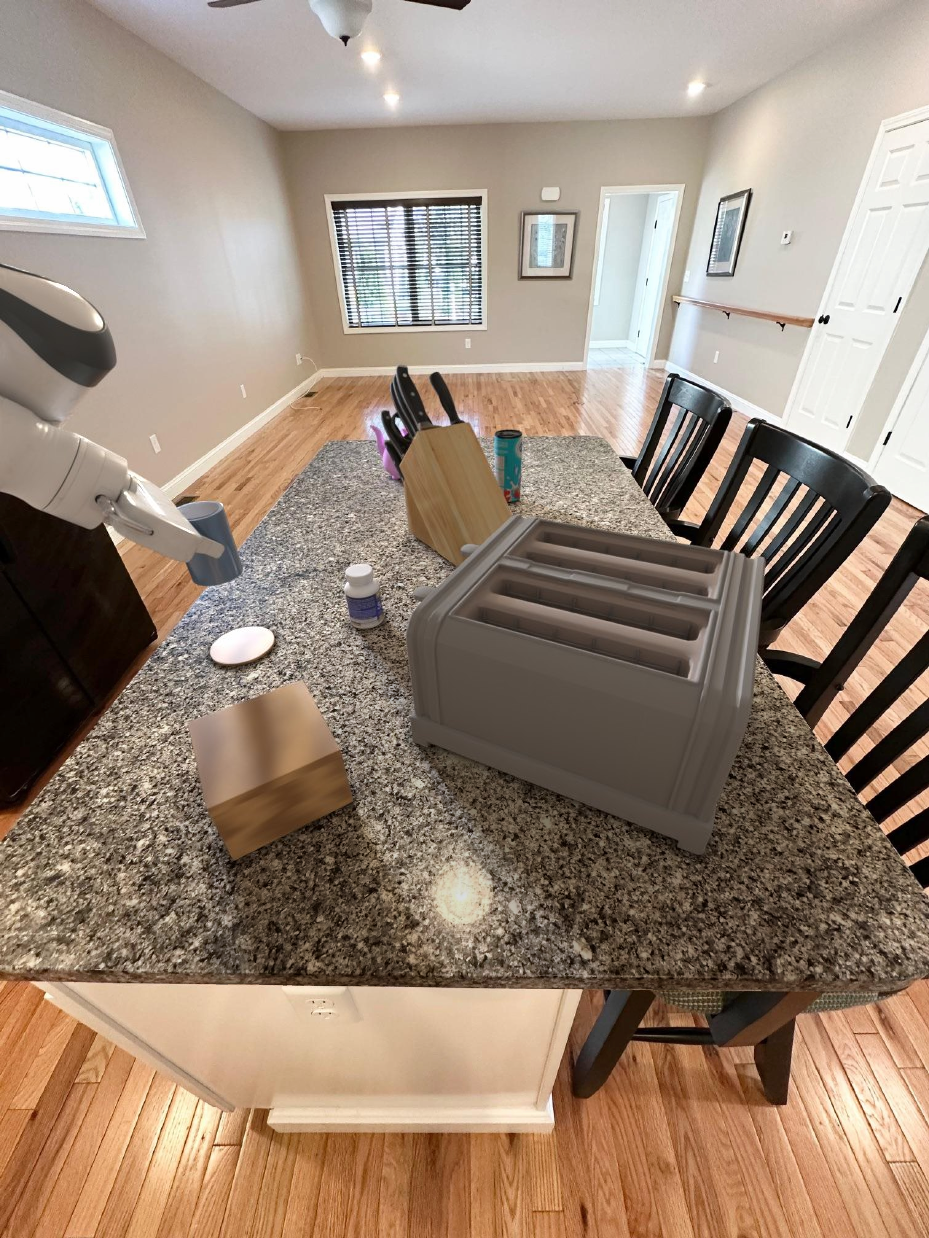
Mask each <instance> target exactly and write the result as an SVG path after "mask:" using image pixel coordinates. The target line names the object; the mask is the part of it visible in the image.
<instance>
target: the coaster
mask: <svg viewBox="0 0 929 1238" xmlns="http://www.w3.org/2000/svg"><path fill="white" fill-rule="evenodd" d="M275 638H276V637H275V634H274V633H273V632H272V631H271V630H270V629H268V628H266V627H262V626H257V625H255V626H254V625H253V626H252V625H251V626H244V627H240V628H239V627H238V628H236V629H233V630H231V631H228V632H227V633H224V634H223V635H221V636H219V638H217V639H216V640H215V641H214V642H213V643H212V645H211V647H210V650H209V655H210V658H211V660H212V661H213V662H214V663H216V664H218V665H220V666H223V667H224V666H225V667H226V666H227V667H237V666H243V665H247V664H250V663H253V662H255V661H257V660H259V659H261V658H263V657H264V656H266V655H267V654H268V653H269V652H270V651H271V650H272V648H273V647H274V646H275V643H276V639H275Z"/></svg>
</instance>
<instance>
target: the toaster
mask: <svg viewBox="0 0 929 1238" xmlns="http://www.w3.org/2000/svg"><path fill="white" fill-rule="evenodd" d="M512 515H513V516H512V517H510V518H509V519H508V520H507V521H506V522H505V523H504V524H503V525H502V526H501V527H500V528H499V529H498V530H497V531H496V532H495V533H494V534H493V535H491V536H490V537H489V538H488V539H487V540H486V541H485V542H484V543H483V544H482V545H481V546H479V545H474V544H467V545H464V546H463V547H462V548H461V554H462V555H463V556H466V557H468V558H467V559H466V560H465V561H464V562H463V563H462V564H461V565H460V566H459V567H456V568H455V569H454V570H453V571H452V572H451V573H450V574H449V575H448V576H447V577H446V578H445V579H444V580H442V582H440V584H438V586H436V587H433V586H429V585H421V586H418V587H416V588H415V589H414V590H413V591H412V592H413V593H412V594H413V595H412V597H413V599H414V600H415V601H417V602H420V603H418V604H417V605H416V607H415V608H414V610H413V611H412V612H411V614H410V616H409V619H408V622H407V626H406V629H405V645H406V652H407V660H408V662H407V663H408V668H409V670H408V671H409V678H410V684H411V685H410V686H411V693H412V701H413V707H414V708H413V712H411V714H410V717H409V720H410V721H409V722H410V728H411V736H412V737H411V738H412V741H413V743H415V744H417V745H420V746H423V747H425V748H429V746H430V745H433V746H436V747H439V748H442V749H445V750H447V751H449V752H452V753H454V754H458V755H460V756H462V757H464V758H467V759H471V760H473V761H475V762H477V763H480V764H483V765H485V766H487V767H490V768H493V769H496V770H498V771H500V772H503V773H506V774H507V775H512V776H514V777H516V778H518V779H520V780H523V781H526V782H528V783H531V784H534V785H536V786H538V787H540V788H544V789H545V790H548V791H552V792H554V793H556V794H558V795H562V796H564V797H567V798H569V799H572V800H574V801H577V802H579V803H582V804H584V805H587V806H590V807H591V808H595V809H598V810H600V811H602V812H605V813H607V814H610V815H613V816H615V817H617V818H620V819H623V820H625V821H628V822H631V823H632V824H636V825H638V826H641V827H643V828H646V829H648V830H651V831H653V832H655V833H658V834H661V835H663V836H666V837H668V838H671V839H673V840H676V841H677V848H678V849H681V850H684V851H686V852H689V853H692V854H694V855H697V856H702V855H703V853H704V852H705V850H706V847H707V845H708V843H709V840H710V838H711V835H712V833H713V831H714V825H715V819H716V811H717V806H718V805H717V804H718V802H719V799H720V797H721V794H722V792H723V789H724V787H725V784H726V783H727V780H728V777H729V774H730V772H731V770H732V768H733V765H734V762H735V760H736V757H737V755H738V753H739V751H740V748H741V745H742V743H743V740H744V737H745V734H746V730H747V727H748V724H749V720H750V715H751V712H752V707H753V702H754V701H753V700H754V691H755V681H756V670H757V659H758V649H759V639H760V638H759V637H760V630H761V629H760V628H761V616H762V605H763V595H764V586H765V585H764V584H765V575H766V574H765V573H766V563H767V560H766V559H765V557H764V556H760V555H759V556H756V557H754V558H750V557H747V556H746V555H745V553H741V552H736V551H735V550H732V551H729V550H723V549H716V548H711V547H705V546H699V545H694V544H688V543H681V542H677V541H670V540H664V539H659V538H653V537H648V536H642V535H636V534H631V533H625V532H619V531H613V530H608V529H602V528H596V527H591V526H585V525H579V524H573V523H567V522H561V521H555V520H550V519H544V518H541V517H539V516H536V517H534V516H528V517H526V518H524V517H523V516H522V515H521V514H512Z"/></svg>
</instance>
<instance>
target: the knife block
mask: <svg viewBox="0 0 929 1238" xmlns="http://www.w3.org/2000/svg"><path fill="white" fill-rule="evenodd" d="M428 380H429V383H430V385H431V387H432V388H433V390H434V391H435V393H436V395H437V397H438V399H439V403H440V405H441V408H443V410H444V412H445V414H446V415H447V417H448V419H449V423H450V425H445V426H442V425H439V424H433V422H432V420H431V418H430V417H429V415H428V413H427V411H426V409H425V404H424V403H423V400H422V397H421V395H420V392H419V391H418V389H417V386H416V385H415V383H414V381H413V379H412V378H411V376H410V373H409V367H408V365H405V364H397V366H396V368H395V374H394V375H393V377H392V380H391V381H390V383H389V391H390V397H391V401H392V403H393V407H394V409H395V411H396V412H394V413H393V414H392V416H391V413H390V410H387V409H382V410H381V411H380V418H381V419H380V420H381V423H382V424H381V425H382V427H383V429H384V431H385V434H386V435H387V437H388V439H387V440H384V441H385V442H384V445H385V448H386V449H387V451H388V453H389V455H390V457H391V459H392V461H393V464H394V466H395V468H396V470H397V472H398V474H399V476H400V477H401V478H400V480H401V481H402V483H403V492H404V493H403V494H404V502H405V510H406V511H405V512H406V519H407V530H408V532H409V533H410V534H411V535H412V536H414V537H415V538H417V539H418V540H420V541H421V542H422V543H424V544H426V546H428V547H430V548H431V549H433V550H434V551H436V552H437V553H438V554H439V555H440V556H442V557H443V558H445V559H446V560H447V561H449V562H450V563H451V564H453V565H454V566H456V568H458V567H459V566H460V565H461V564H462V563H463V562H464V561H465V560H466V559H467V558H468V557H466V556H463V555H462V554H461V548H462V547H463V546H464V545H467V544H474V545H479V546H481V545H482V544H483V543H484V542H485V541H486V540H487V539H488V538H489V537H490V536H491V535H493V534H494V533H495V532H496V531H497V530H498V529H499V528H500V527H501V526H502V525H503V524H504V523H505V522H506V521H507V520H508V519H509V518H510V517H512V516H513V515H514V514H513V513H512V510H511V508H510V506H509V504H507V502H506V499H505V497H504V495H503V493H502V491H501V488H500V486H499V484H498V482H497V480H496V478H495V472H494V471H493V469H492V467H491V465H490V462H489V460H488V458H487V456H486V454H485V452H484V449H483V447H482V445H481V443H480V440H479V439H478V436H477V435H476V432H475V431H474V429H473V426H472V424H471V423H470V422H469V421H465V420H464V419H461V418H460V417H459V415H458V411H457V407H456V404H455V402H454V399H453V396H452V394H451V392H450V390H449V388H448V385H447V383H446V381H445V380H444V377H443V376H442V375H441V373H440V371H434V372H432V373H430V375H429V376H428ZM396 419H399V420H400V422H401V423H402V425H403V427H405V428H406V430H407V432H408V433H407V434H406V435H405V436H404V437H403V435H402V433H401V432H400V431H401V430H400V428H399V426H398V425H397V423H396ZM389 439H390V440H389Z"/></svg>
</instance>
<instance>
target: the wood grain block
mask: <svg viewBox="0 0 929 1238" xmlns="http://www.w3.org/2000/svg"><path fill="white" fill-rule="evenodd" d="M186 723H187V729H188V733H189V736H190V741H191V746H192V750H193V756H194V760H195V765H196V768H197V773H198V777H199V781H200V786H201V790H202V796H203V800H204V804H205V809H206V811H207V814H208V815H209V818H210V820H211V821H212V823H213V824H214V826H215V829H216V830H217V831H218V834H219V836H220V838H221V840H222V842H223V843H224V846H225V847H226V849H227V851H228V853H229V855H230V857H231V859H232V861H236V860H239V859H240V858H242V857H244V856H247V855H248V854H251V853H253V852H254V851H256V850H259V849H261V848H262V847H264V846H266V845H268V844H270V843H273V842H274V841H277V840H279V839H280V838H282V837H285V836H287V835H289V834H290V833H292V832H295V831H297V830H299V829H301V828H303V827H305V826H307V825H309V824H311V823H313V822H315V821H317V820H318V819H319V820H320V819H322V818H323V817H324V816H327V815H329V814H331V813H333V812H335V811H337V810H339V809H341V808H343V807H345V806H347V805H349V804H351V803H353V802H354V797H353V793H352V790H351V786H350V781H349V778H348V774H347V769H346V766H345V762H344V761H345V760H344V758H343V754H342V750H341V748H340V746H339V744H338V742H337V740H336V738H335V737H334V735H333V733H332V731H331V729H330V727H329V725H328V724H327V721H326V719H325V718H324V715H323V714H322V712H321V710H320V708H319V707H318V705H317V702H316V701H315V699H314V697H313V695H312V693H311V691H310V689H309V688H308V686H307V683H306V682H305V680H304V678H303V679H300V680H297V681H294V682H292V683H289V684H286V685H283V686H280V687H278V688H275V689H273V690H270V691H268V692H267V691H266V692H265V693H262V694H259V695H257V696H255V697H252V698H249V699H247V700H244V701H241V702H238V703H235V704H233V705H230V706H228V707H225V708H222V709H220V710H217V711H215V712H212V713H209V714H206V715H204V716H201V717H199V718H196V719H194V720H190V721H188V722H186Z"/></svg>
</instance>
